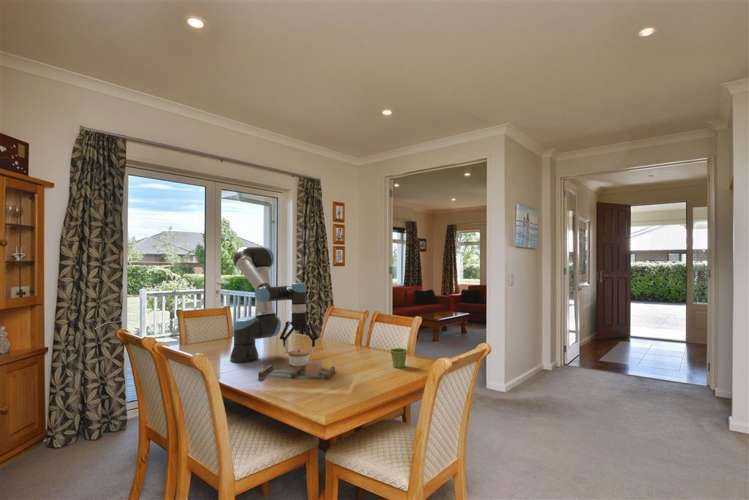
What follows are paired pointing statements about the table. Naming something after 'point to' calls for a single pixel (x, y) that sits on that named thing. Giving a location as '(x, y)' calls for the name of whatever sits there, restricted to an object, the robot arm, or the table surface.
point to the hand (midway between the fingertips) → (299, 353)
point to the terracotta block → (313, 368)
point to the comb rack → (292, 373)
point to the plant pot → (398, 357)
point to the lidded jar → (298, 357)
